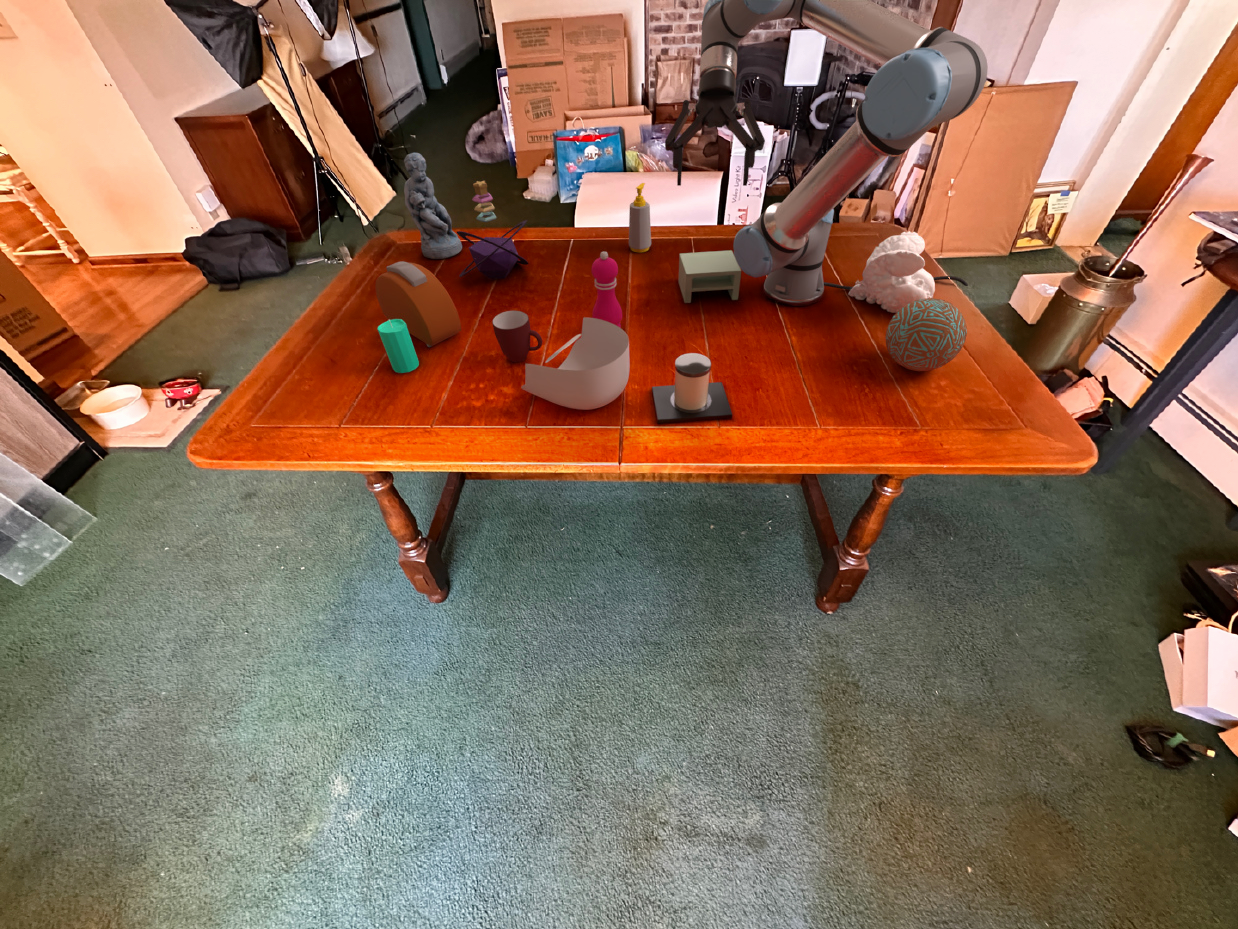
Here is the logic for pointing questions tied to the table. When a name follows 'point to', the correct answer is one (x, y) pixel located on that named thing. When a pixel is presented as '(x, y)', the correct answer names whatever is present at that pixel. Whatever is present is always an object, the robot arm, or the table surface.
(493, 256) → the purple faceted sculpture
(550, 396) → the white curved piece
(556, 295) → the table surface
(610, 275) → the pepper mill
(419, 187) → the statue
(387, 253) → the table surface
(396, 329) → the candle
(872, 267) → the white lumpy figure
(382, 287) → the alarm clock
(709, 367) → the jar
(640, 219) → the soap bottle
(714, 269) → the small table
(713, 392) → the hob plate
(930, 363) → the decorative sphere
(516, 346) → the mug
